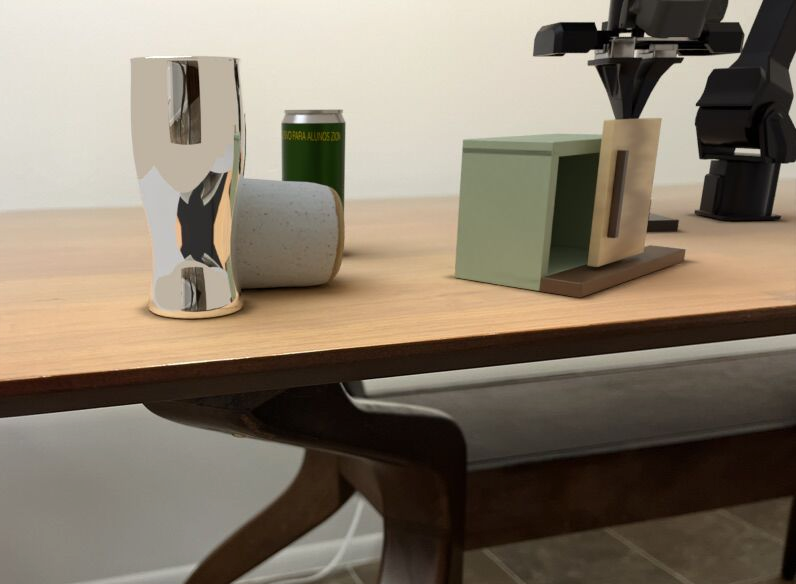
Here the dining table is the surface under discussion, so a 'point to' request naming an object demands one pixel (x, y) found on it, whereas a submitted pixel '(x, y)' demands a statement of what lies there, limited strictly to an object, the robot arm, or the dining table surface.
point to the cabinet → (538, 216)
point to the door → (623, 189)
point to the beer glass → (190, 178)
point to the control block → (661, 223)
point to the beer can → (314, 148)
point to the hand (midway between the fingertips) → (625, 133)
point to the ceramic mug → (288, 234)
